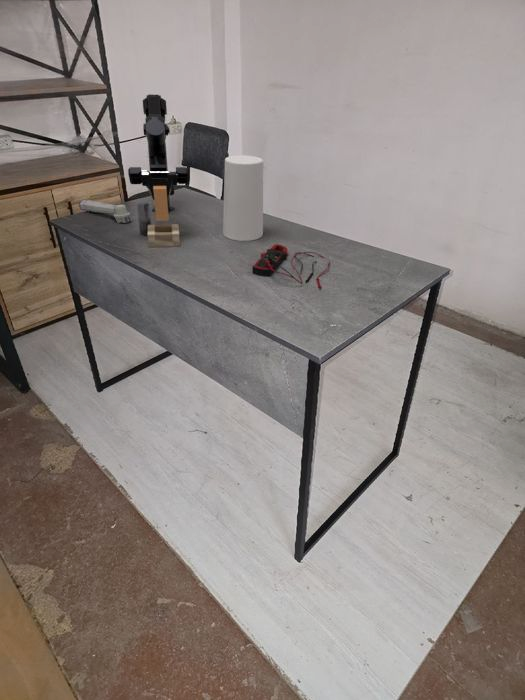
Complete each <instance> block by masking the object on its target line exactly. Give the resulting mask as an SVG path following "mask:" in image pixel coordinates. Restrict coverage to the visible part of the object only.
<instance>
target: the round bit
mask: <svg viewBox="0 0 525 700" xmlns="http://www.w3.org/2000/svg"><path fill="white" fill-rule="evenodd" d="M136 208H137V216H138V227H139V233H140V236H143V235H144V237H146V236H147V237H148V225H152V220H151V219H152V218H151V209H150V204H149V203H148V202H139V203H137V204H136Z"/></svg>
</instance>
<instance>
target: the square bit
mask: <svg viewBox="0 0 525 700" xmlns="http://www.w3.org/2000/svg"><path fill="white" fill-rule="evenodd" d="M153 191H154V200H153V201H154V208H155V211H154V212H155V220H156V221H155V222H160V221H161V222H162V221H163V222H166V221H169V218H170V217H169V212H168V203H167V190H166V186H153Z"/></svg>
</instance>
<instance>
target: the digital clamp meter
mask: <svg viewBox="0 0 525 700" xmlns="http://www.w3.org/2000/svg"><path fill="white" fill-rule="evenodd" d="M310 253H311V254H313V255H311V254H310ZM302 254H304V255H307V256H310V257H312V258H314V257H315V256H314V255H317V256H319V257H321V258H324V259H325V258H326V257H325V256H323V255H322V254H319V253H317V252H314V251H304V252H301V251H300V252H299V251H298V252H294V254H293V257H292V259H291V261H290V263H291V267H292V268H293V269H294V270H295V271H296V273H297V275H298V277H299V279H300V281H299V279H297V278H295V276H293V274H291V273H290V272H289V271H288V270H287V269H285V268H284V267H282V266H280V265H281V264H282V262H283V261H287V256H288V248H287V247H286V246H285V245H282V244H273V246H271V247H270V248H267V249H266V252H263V253H260V258H259V259H258V260H257V261H256V262H255V263H254V264H253V265H252V274H254V275H256V276H259V277H271V276H272V275H273V274H274V272H275V273H277V274H281V275H284V276H287V277H289V278H291V279H294V280H295V281H297V282H298V283H299V284H302V283H303V279H302V277H301V275H302V270H303V266H304V265H303V262H302V261H301V260H300V259H299V258H298V257H296V256H298V255H302ZM294 258H295V259H296V260H298V262H299V263H300V264H301V267H300V273H299V271H298V270H297V269H296V267H295V266H294V265H293V260H294ZM317 262H318V261H313V262H312V264H311V265H312V266H311V268H312V270H311V273H310V275H309V276H308V277H307V279H306V280H305V284H307V283H309V282H310V280H311V279H312V277H313V276H314V264H315V263H317ZM330 264H331V262H330V261H328V264H327V267H326V268H325V269H324V270H323V272H321V273H320V274H319V275H318V276H317V277H316V279H315V281H316V285H317V288H318V289H319V291H320V293H322V286H321V283H320V279H319V277H320V276H321V275H322V274H324V273H325V272H326V271H327V270H328V269H329V267H330ZM278 267H280V268H281V269H282V270H284V271H285V272H286V273H287V274H286V273H284V272H281V271H277V270H276V269H278Z"/></svg>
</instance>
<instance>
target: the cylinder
mask: <svg viewBox="0 0 525 700" xmlns="http://www.w3.org/2000/svg"><path fill="white" fill-rule="evenodd" d="M223 176H224V177H223V179H224V181H223V183H224V184H223V185H224V186H223V215H222V216H223V217H222V218H223V219H222V220H223V222H222V226H223V227H222V235H223V236H224V237H226V238H227V239H229V240H232V241H237V242H238V241H240V242H250V241H256V240H258V239H260V238H262V237H263V235H264V234H263V233H264V160H263V158H261V157H258V156H254V155H246V154H245V155H230V156H227V157H226V158H225V159H224V175H223Z"/></svg>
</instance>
